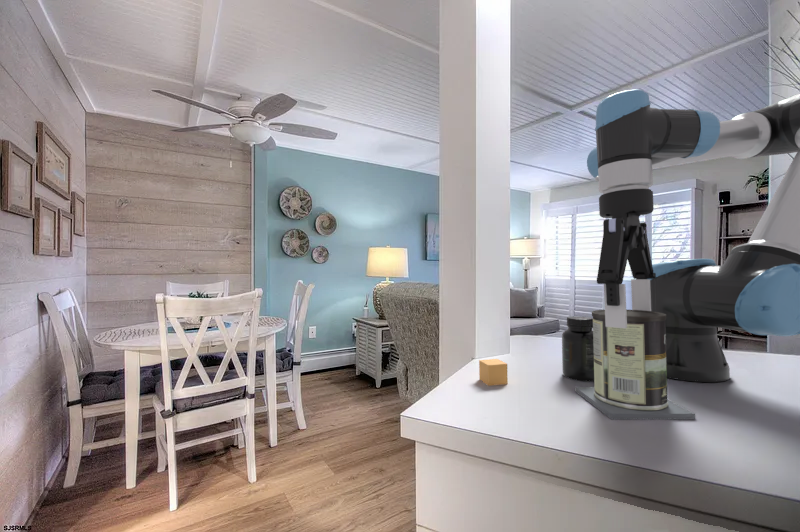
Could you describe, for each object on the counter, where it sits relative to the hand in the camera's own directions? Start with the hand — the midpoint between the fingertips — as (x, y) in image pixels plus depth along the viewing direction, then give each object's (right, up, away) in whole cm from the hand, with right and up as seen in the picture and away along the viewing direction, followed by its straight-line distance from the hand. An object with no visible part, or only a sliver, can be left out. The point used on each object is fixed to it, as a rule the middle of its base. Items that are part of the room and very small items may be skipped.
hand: (630, 321), depth 59 cm
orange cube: (-19, -14, +13) cm, 27 cm away
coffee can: (0, -13, 0) cm, 13 cm away
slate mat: (0, -13, 0) cm, 13 cm away
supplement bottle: (-1, -14, +15) cm, 20 cm away
